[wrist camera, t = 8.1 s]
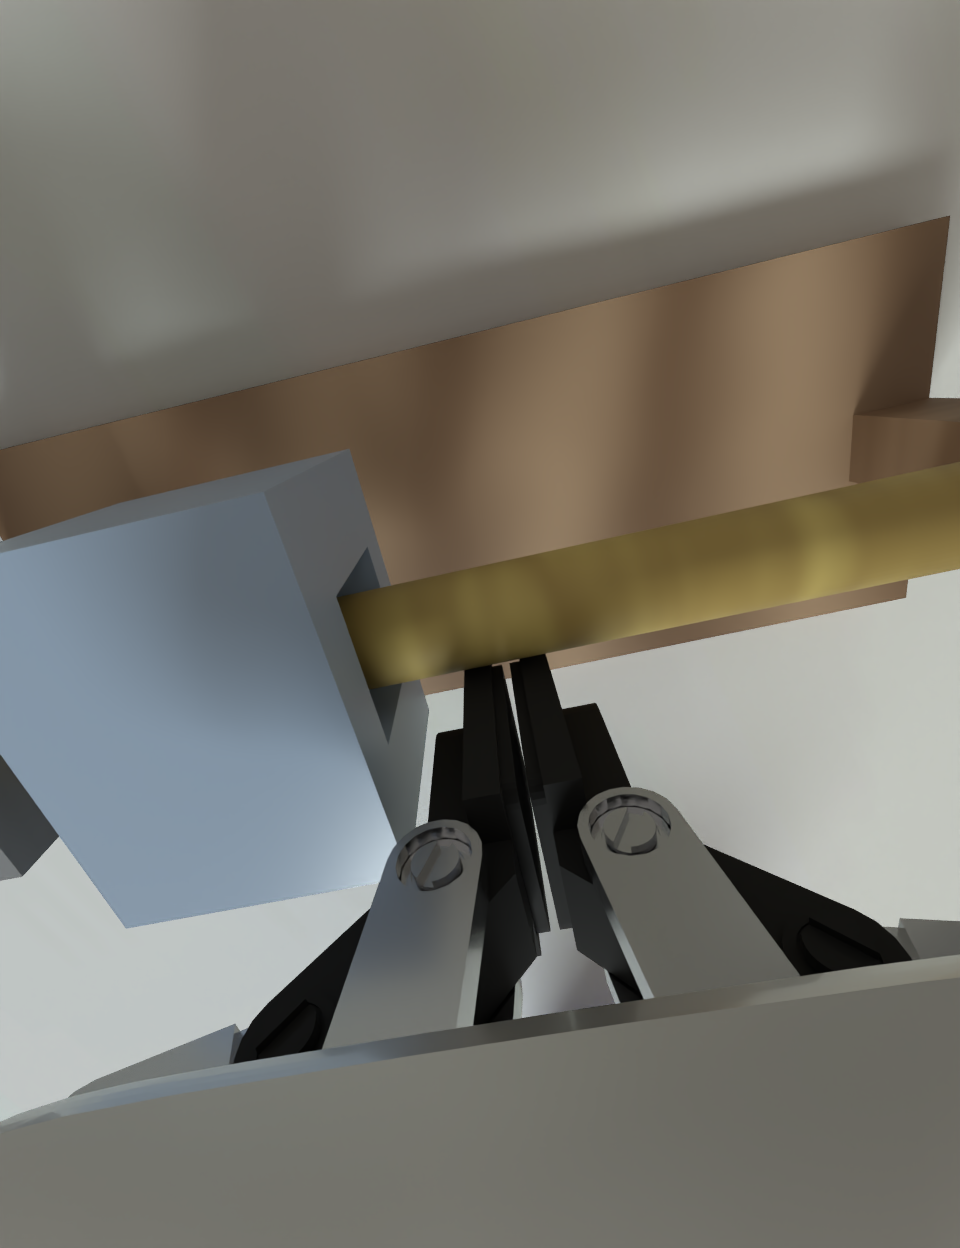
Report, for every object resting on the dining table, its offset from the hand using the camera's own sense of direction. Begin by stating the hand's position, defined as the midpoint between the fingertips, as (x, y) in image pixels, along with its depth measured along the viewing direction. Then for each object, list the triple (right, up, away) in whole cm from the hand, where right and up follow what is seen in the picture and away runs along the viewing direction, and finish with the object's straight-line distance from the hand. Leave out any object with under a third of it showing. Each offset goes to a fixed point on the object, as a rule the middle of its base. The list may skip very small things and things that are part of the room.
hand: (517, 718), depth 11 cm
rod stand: (-1, +5, +6) cm, 8 cm away
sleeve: (-5, +2, +1) cm, 6 cm away
